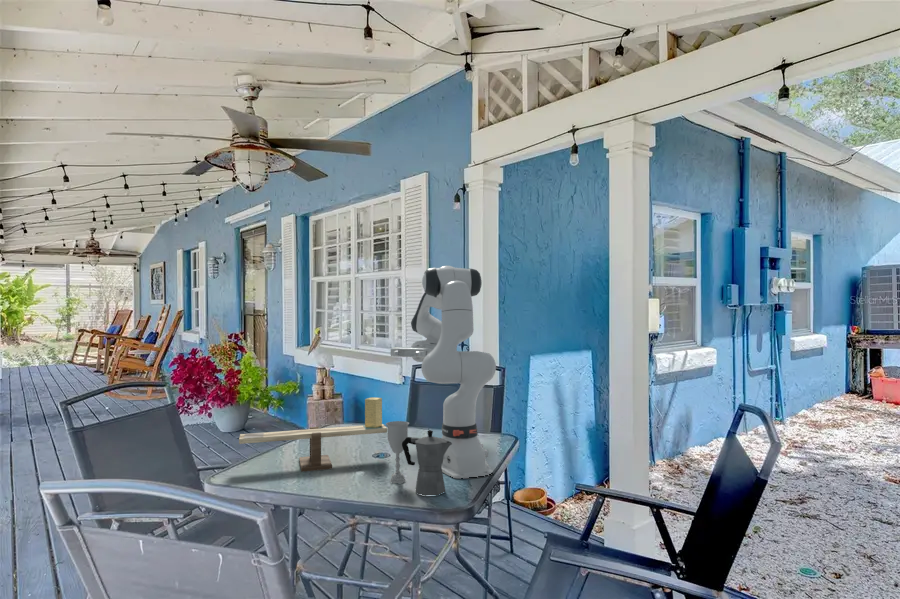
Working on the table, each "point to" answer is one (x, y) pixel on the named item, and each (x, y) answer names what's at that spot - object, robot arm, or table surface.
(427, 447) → the coffeepot
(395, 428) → the chalice
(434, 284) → the robot arm
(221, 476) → the table surface
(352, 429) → the balance beam
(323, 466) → the beam stand
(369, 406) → the tall olive textured block
